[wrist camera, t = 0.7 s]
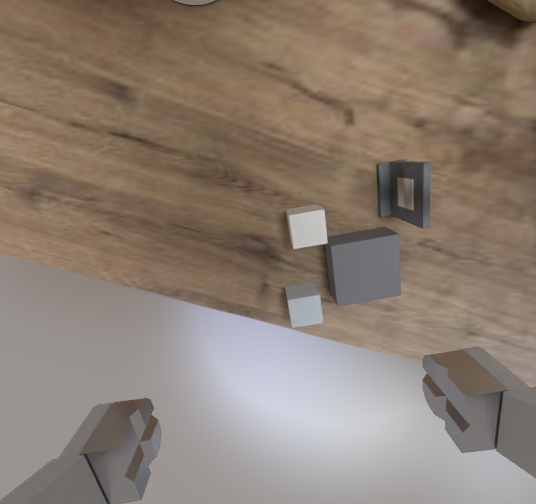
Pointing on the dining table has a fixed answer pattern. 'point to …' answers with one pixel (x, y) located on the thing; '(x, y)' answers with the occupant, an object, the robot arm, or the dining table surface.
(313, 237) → the ivory cube
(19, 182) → the dining table surface
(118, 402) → the robot arm
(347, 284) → the base block
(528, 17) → the bread roll
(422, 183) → the standing grey panel
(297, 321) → the grey blue cube
